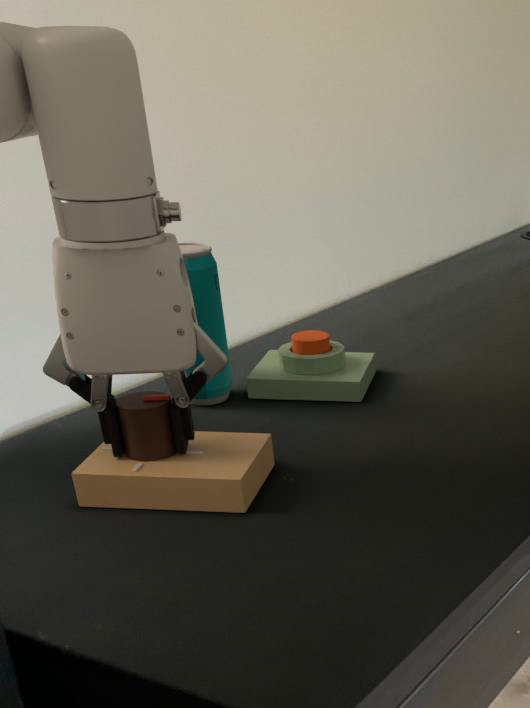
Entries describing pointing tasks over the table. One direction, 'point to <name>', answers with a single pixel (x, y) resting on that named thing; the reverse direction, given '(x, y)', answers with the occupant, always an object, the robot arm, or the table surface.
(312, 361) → the switch base
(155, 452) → the dial
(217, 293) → the beverage can
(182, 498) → the dial panel
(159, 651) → the table surface
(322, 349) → the switch button
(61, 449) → the table surface
